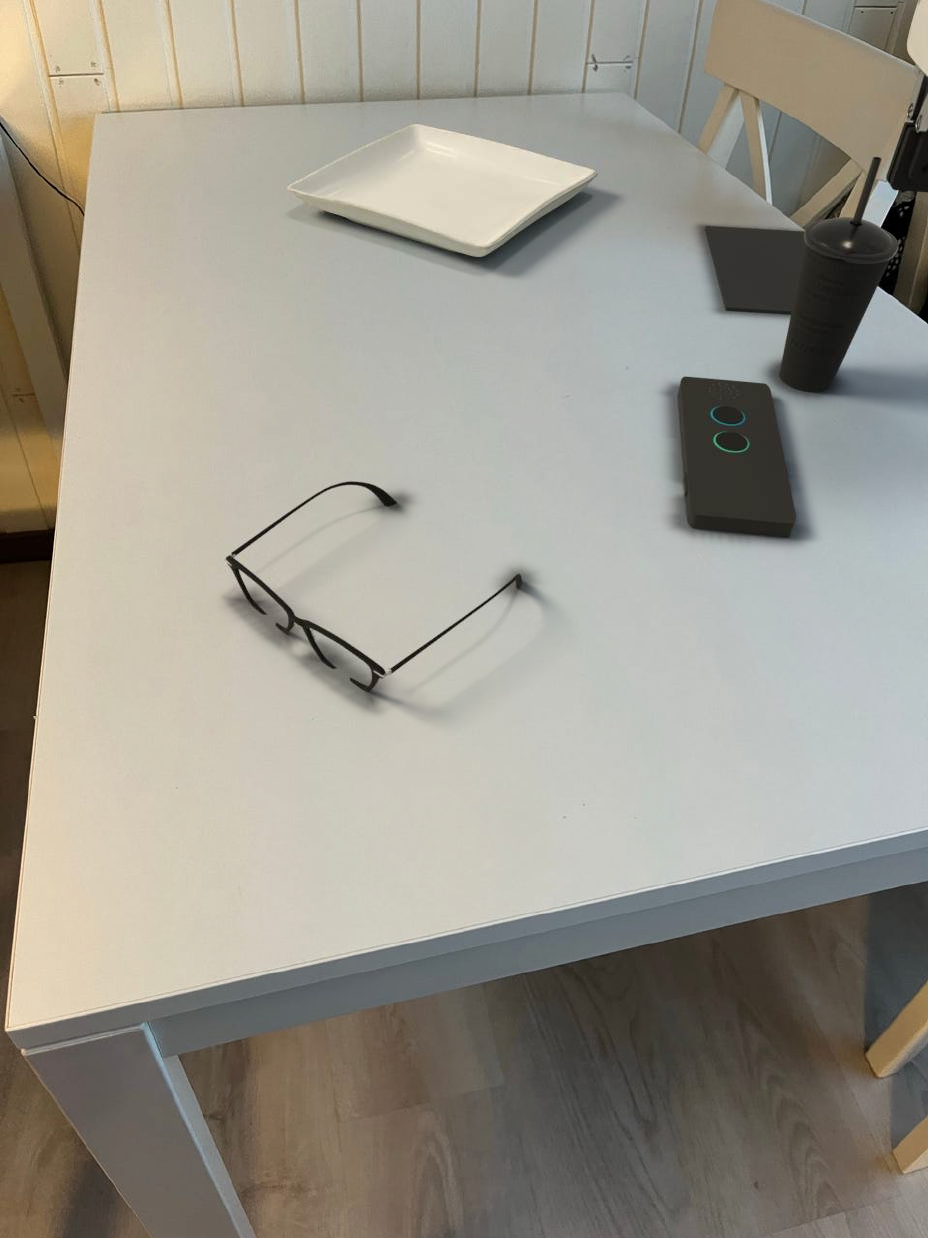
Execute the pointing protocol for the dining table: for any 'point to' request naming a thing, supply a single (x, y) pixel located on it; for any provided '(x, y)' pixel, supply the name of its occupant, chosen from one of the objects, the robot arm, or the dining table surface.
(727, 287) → the mat
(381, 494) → the eyeglasses
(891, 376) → the dining table surface
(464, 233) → the square plate
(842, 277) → the drinking cup
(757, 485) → the smart home device
